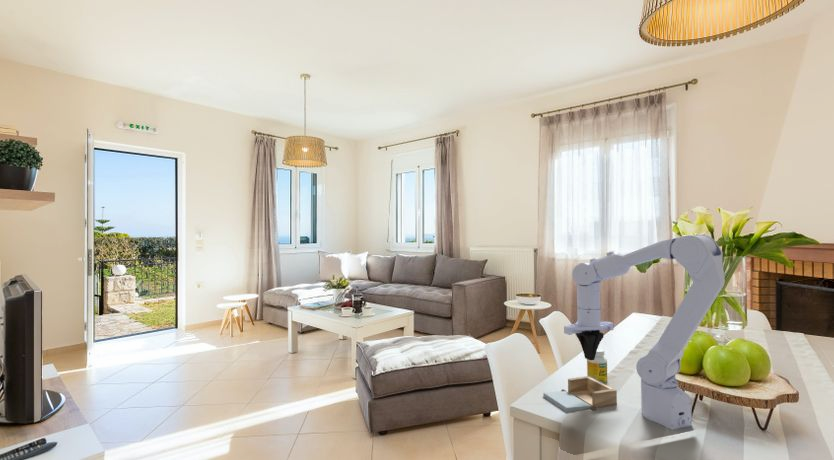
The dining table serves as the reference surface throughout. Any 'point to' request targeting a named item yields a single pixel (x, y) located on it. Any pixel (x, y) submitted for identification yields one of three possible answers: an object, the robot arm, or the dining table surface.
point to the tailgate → (566, 401)
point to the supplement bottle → (598, 367)
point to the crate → (592, 392)
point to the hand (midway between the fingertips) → (589, 359)
